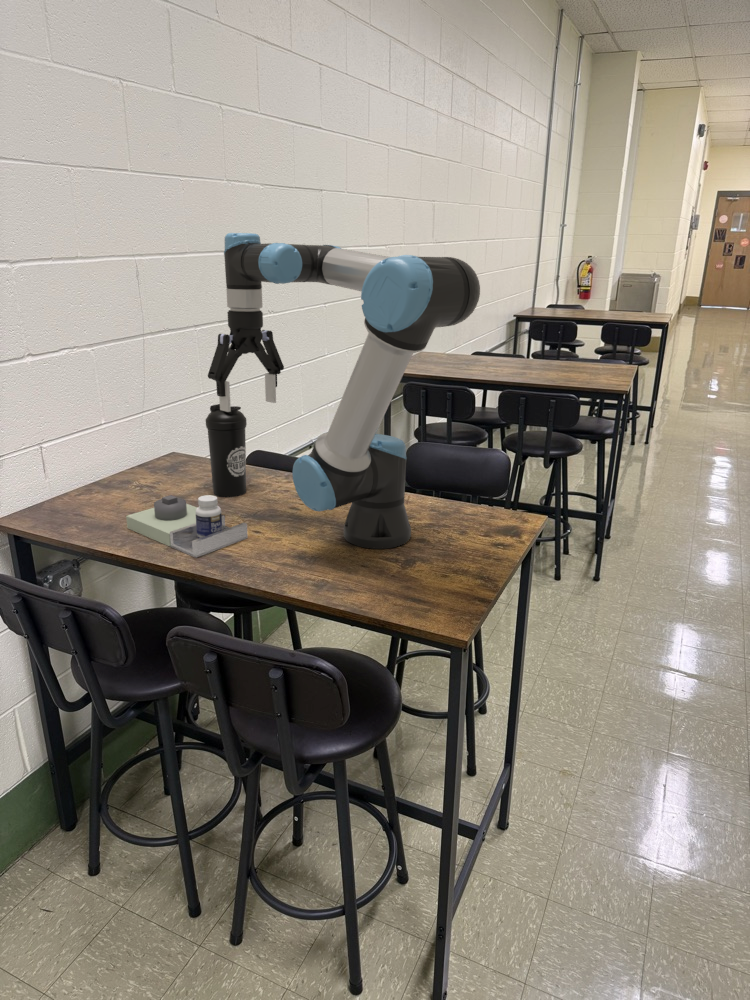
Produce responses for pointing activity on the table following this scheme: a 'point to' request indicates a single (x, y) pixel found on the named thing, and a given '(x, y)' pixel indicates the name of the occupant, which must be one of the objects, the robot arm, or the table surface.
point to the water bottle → (227, 451)
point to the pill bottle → (208, 516)
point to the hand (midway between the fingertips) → (248, 406)
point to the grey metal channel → (206, 539)
